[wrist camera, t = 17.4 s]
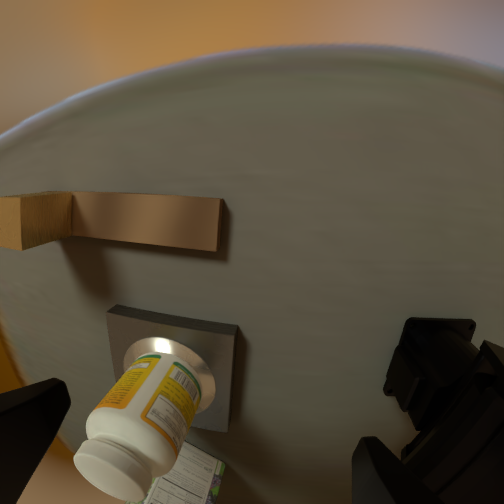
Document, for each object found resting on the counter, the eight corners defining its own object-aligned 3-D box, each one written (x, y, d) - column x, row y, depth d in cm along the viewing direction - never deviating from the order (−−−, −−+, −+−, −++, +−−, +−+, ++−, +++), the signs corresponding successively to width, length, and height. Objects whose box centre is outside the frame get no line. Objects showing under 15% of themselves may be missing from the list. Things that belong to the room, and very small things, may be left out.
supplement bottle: (211, 365, 18) (164, 481, 9) (196, 417, 20) (156, 519, 10) (136, 337, 18) (54, 426, 9) (131, 391, 20) (69, 477, 10)
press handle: (71, 192, 17) (20, 197, 12) (71, 235, 18) (22, 250, 13) (43, 192, 17) (-6, 197, 13) (44, 232, 18) (-4, 245, 13)
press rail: (223, 198, 18) (219, 199, 17) (219, 248, 18) (216, 251, 17) (49, 191, 19) (41, 192, 18) (49, 229, 19) (41, 231, 18)
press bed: (237, 325, 19) (234, 336, 18) (230, 420, 21) (227, 433, 20) (116, 304, 20) (105, 312, 18) (128, 397, 22) (120, 408, 20)
